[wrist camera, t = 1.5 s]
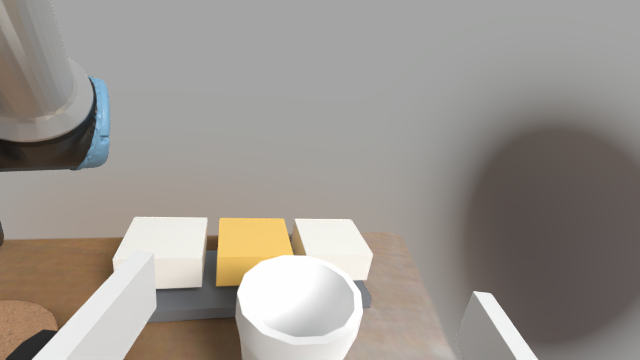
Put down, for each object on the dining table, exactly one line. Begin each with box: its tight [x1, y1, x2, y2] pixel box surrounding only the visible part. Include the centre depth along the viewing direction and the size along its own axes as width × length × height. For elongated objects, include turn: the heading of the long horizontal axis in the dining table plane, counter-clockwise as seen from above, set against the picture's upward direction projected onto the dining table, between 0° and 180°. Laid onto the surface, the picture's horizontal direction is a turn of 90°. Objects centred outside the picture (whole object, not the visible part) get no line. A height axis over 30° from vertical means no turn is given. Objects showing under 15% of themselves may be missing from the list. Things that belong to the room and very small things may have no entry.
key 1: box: [291, 219, 373, 280], centre depth 44 cm, size 8×8×4 cm
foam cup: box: [235, 255, 363, 360], centre depth 27 cm, size 10×9×13 cm
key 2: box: [113, 217, 207, 289], centre depth 39 cm, size 8×8×4 cm
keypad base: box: [147, 249, 372, 323], centre depth 43 cm, size 30×11×2 cm, turn 104°
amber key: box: [216, 218, 294, 286], centre depth 41 cm, size 8×8×4 cm
